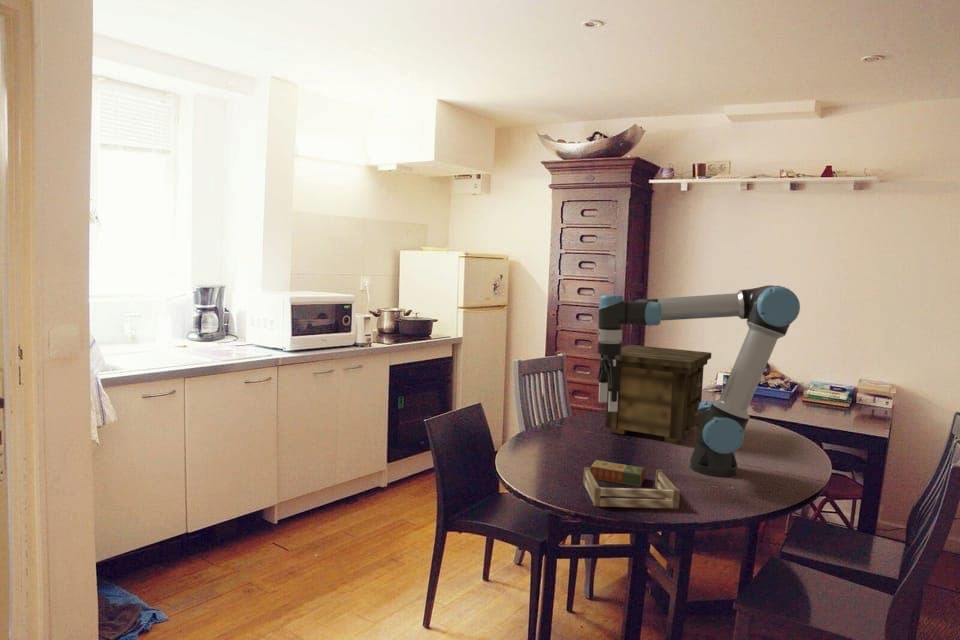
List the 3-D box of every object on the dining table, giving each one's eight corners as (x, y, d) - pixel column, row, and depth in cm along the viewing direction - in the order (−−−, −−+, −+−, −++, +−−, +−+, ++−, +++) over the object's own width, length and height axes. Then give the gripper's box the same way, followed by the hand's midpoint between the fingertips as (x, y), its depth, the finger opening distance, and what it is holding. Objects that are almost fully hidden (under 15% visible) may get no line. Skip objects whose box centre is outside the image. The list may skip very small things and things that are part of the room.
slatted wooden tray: (660, 486, 196) (661, 469, 196) (678, 508, 178) (680, 490, 178) (583, 483, 196) (584, 467, 196) (594, 506, 178) (595, 488, 177)
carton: (595, 471, 209) (595, 459, 209) (644, 479, 203) (645, 466, 203) (589, 479, 202) (589, 466, 201) (640, 487, 195) (641, 474, 195)
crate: (626, 416, 286) (629, 344, 283) (706, 429, 268) (711, 352, 265) (597, 433, 257) (601, 352, 254) (685, 448, 238) (691, 362, 235)
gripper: (590, 337, 219) (588, 398, 220) (607, 346, 194) (605, 415, 195) (611, 337, 219) (609, 398, 221) (631, 347, 194) (629, 415, 196)
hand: (607, 406), depth 208 cm, fingers open, 13 cm apart
